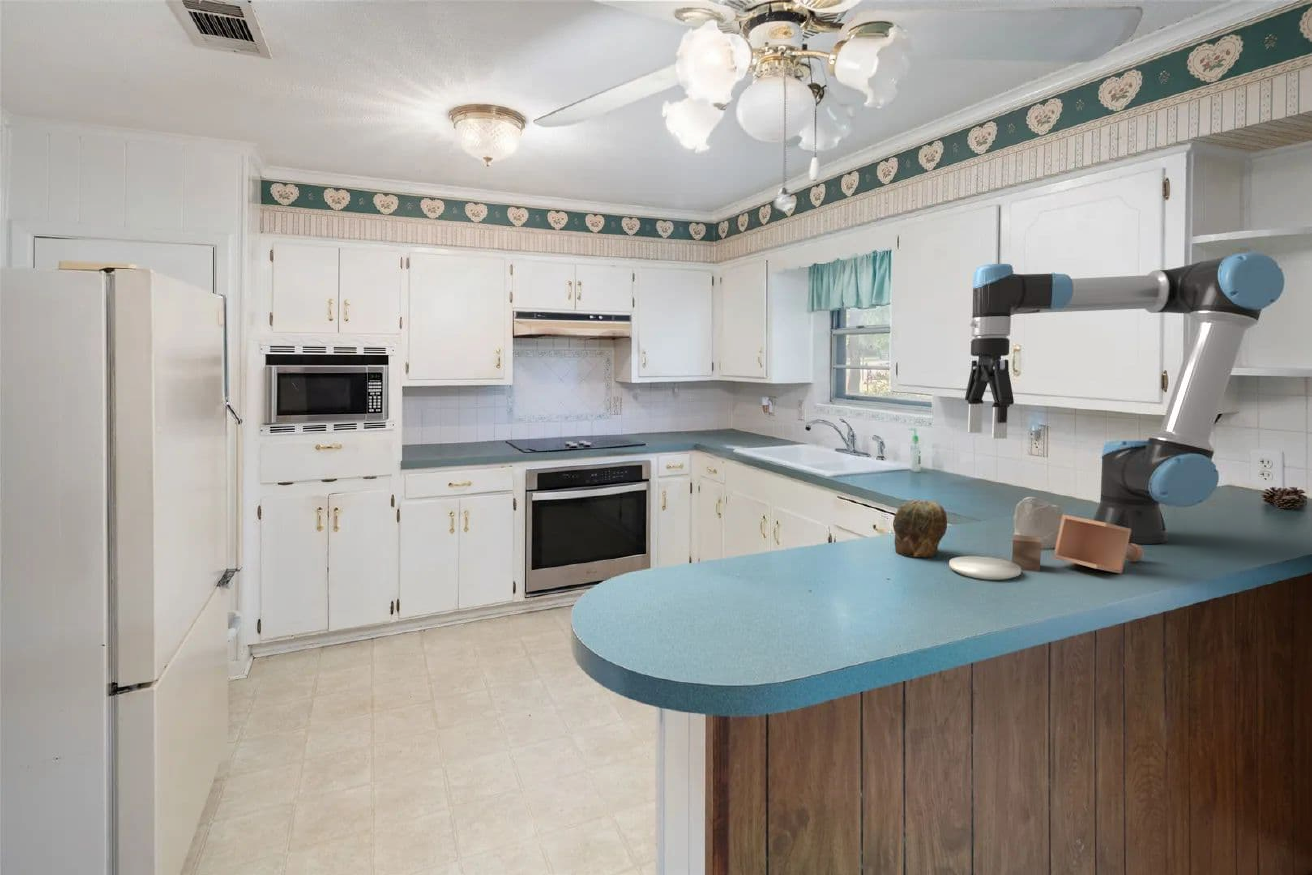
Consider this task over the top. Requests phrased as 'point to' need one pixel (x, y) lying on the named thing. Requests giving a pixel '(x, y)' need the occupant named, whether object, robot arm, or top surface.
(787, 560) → the top surface
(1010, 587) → the top surface
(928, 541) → the brown rounded lump
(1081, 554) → the cover
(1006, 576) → the dish
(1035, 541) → the block
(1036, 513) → the stone
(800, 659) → the top surface
